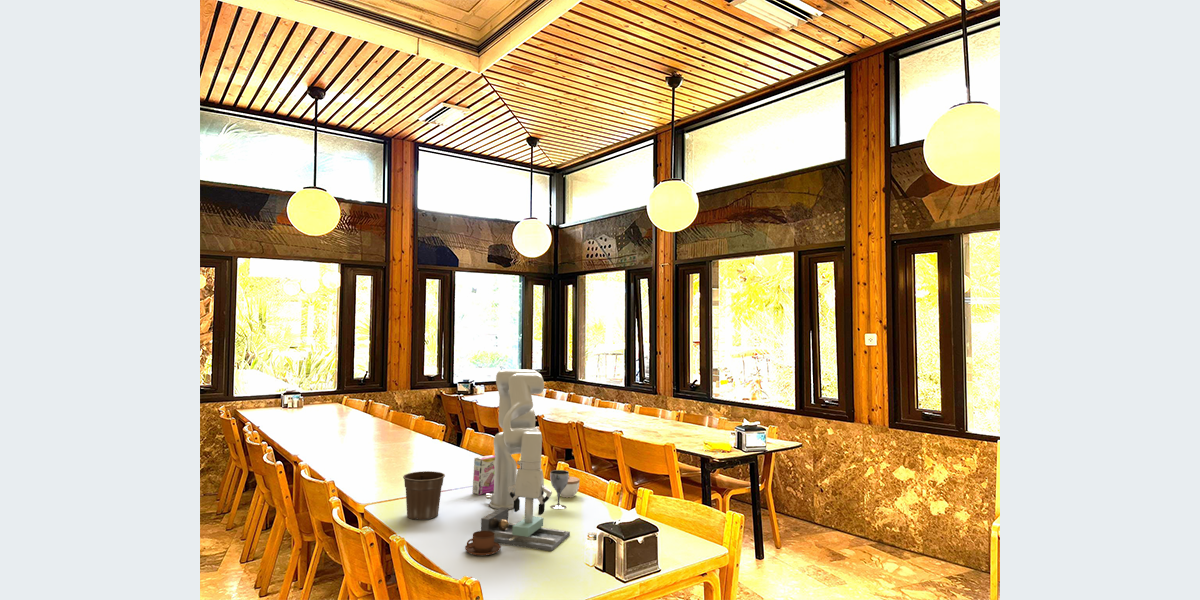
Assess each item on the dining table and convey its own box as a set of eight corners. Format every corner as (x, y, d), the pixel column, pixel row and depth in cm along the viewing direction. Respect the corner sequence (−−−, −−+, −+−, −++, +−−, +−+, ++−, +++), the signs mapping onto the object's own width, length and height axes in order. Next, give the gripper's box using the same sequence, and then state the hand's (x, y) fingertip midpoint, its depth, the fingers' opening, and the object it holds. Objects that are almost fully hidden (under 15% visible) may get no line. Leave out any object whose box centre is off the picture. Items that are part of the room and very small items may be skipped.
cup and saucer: (484, 561, 204) (484, 542, 204) (457, 553, 210) (458, 534, 210) (507, 551, 214) (508, 533, 214) (481, 544, 220) (482, 526, 220)
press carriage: (512, 534, 222) (514, 490, 222) (528, 523, 235) (530, 482, 236) (527, 536, 220) (529, 492, 221) (543, 525, 233) (544, 483, 234)
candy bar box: (479, 495, 283) (481, 459, 284) (472, 493, 286) (473, 457, 287) (497, 491, 292) (498, 456, 293) (489, 489, 295) (491, 454, 296)
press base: (479, 540, 223) (479, 519, 224) (501, 526, 240) (502, 506, 241) (551, 551, 215) (552, 529, 215) (569, 535, 232) (570, 515, 232)
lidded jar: (583, 495, 290) (584, 475, 291) (570, 500, 281) (571, 479, 282) (564, 491, 296) (565, 471, 296) (551, 496, 287) (552, 475, 287)
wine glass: (570, 505, 272) (571, 471, 273) (563, 510, 264) (564, 474, 265) (553, 503, 275) (554, 469, 275) (546, 508, 267) (547, 472, 268)
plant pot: (393, 515, 250) (395, 474, 251) (428, 507, 261) (430, 469, 262) (414, 524, 239) (417, 482, 239) (450, 516, 250) (452, 476, 251)
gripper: (504, 464, 228) (502, 512, 227) (548, 469, 222) (546, 518, 221) (513, 461, 235) (511, 507, 234) (556, 465, 229) (554, 512, 229)
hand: (528, 512), depth 228 cm, fingers open, 9 cm apart
